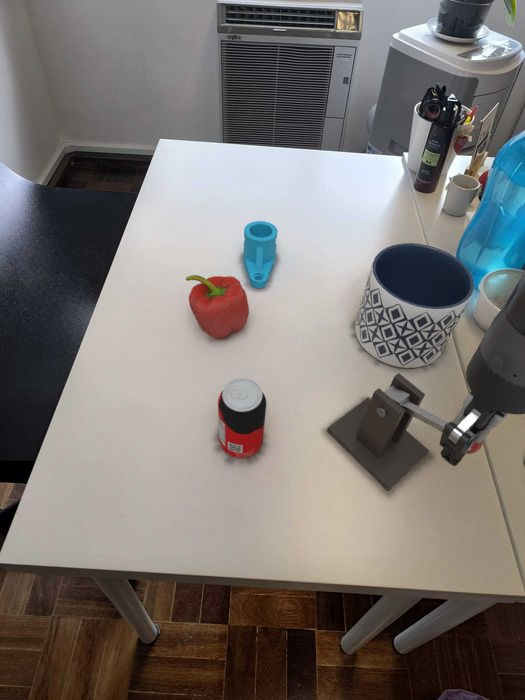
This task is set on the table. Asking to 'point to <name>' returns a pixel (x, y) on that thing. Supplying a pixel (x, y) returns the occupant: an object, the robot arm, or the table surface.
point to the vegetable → (219, 304)
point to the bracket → (259, 251)
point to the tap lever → (422, 413)
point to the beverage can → (241, 417)
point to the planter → (412, 304)
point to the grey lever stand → (382, 434)
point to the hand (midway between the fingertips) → (459, 448)
